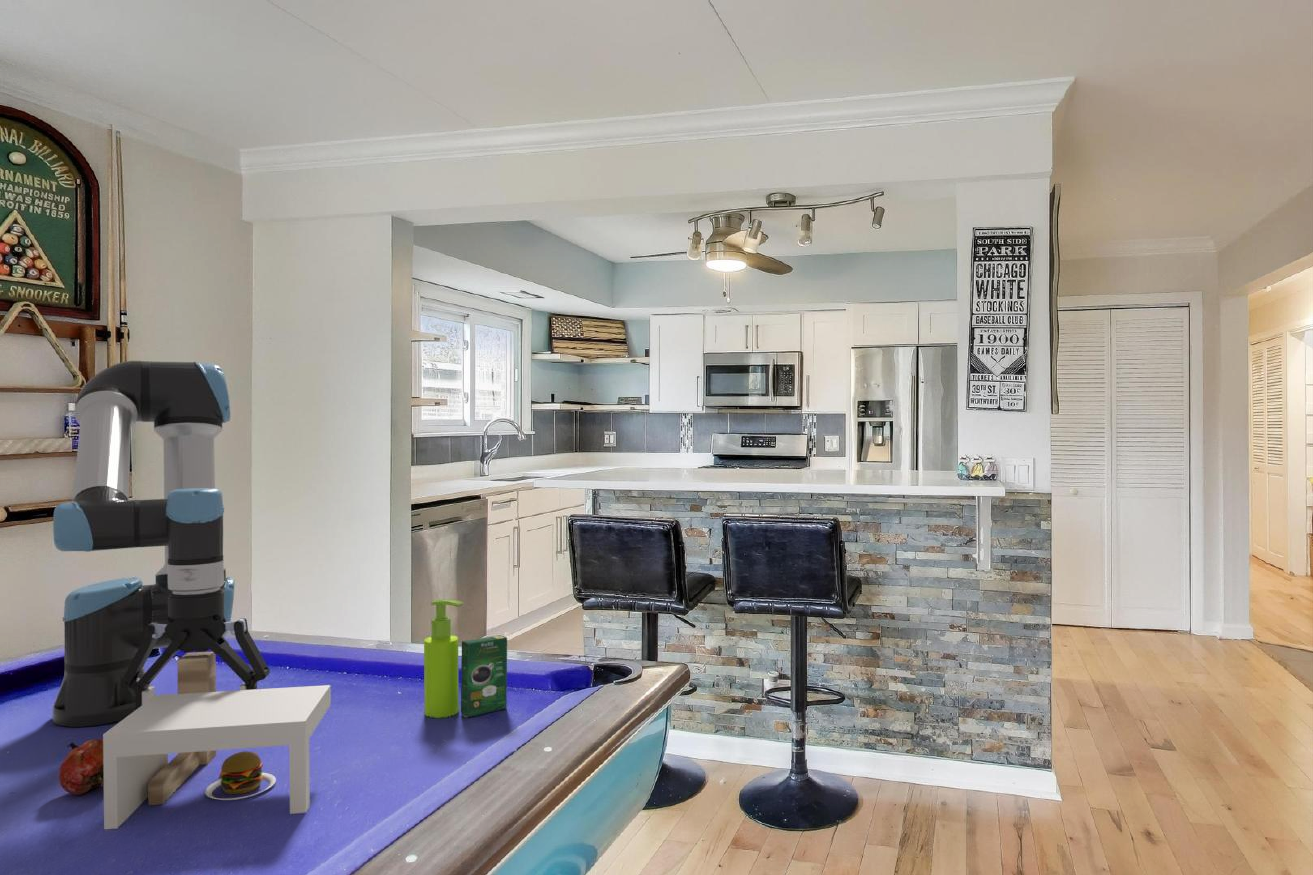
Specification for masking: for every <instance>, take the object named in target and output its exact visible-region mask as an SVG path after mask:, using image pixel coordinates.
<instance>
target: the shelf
mask: <svg viewBox="0 0 1313 875" xmlns="http://www.w3.org/2000/svg"><path fill="white" fill-rule="evenodd" d="M331 689H332V687H331V684H325V685H324V684H323V685H309V686H307V685H306V686H294V687H293V686H290V687H278V688H277V687H276V688H273V687H272V688H260V689H259V688H257V689H254V690H240V689H239V690H225V691H224V690H222V691H216V692H203V693H185V694H178V693H173V694H172V693H170V694H155V696H154V697H153V698H151V699H150V700H149V701H147V702H146V703H145V704H143V705H142V706H141V707H139V708H138V709H137V710H135V711H134V712H133V713H131V714H130V715H128V716H127V717H126V718H124V719H123V720H121V721H118V723H117V724H114V726H112V727H111V728H109V729H108V730H107V731H106V732H104V733H103V734H102V740H103V764H104V786H103V829H104V830H113V829H119V827H121V825H122V824H123V823H124V822H126V821H127V819H129V817H130V816H131V815H132V814H134V812H135V811H136V810H137V809H138V808H140V806H141V805H142V804H143V803H144V802H145V801H146V800H147V799H148V798H147V797H148V783H149V782H150V781H151V780H152V779H153V778H154V777H155V776H156V775H157V774H158V773H159V772H160V771H161V770H162V769H163V768H164V767H165V766H166V765H167V764H168V763H169V761H168V759H169V757H168V756H169V754H178V753H184V752H198V751H213V750H216V751H224V750H236V749H237V750H239V749H253V748H268V747H269V748H270V747H281V746H289V748H288V751H289V753H288V756H289V757H288V758H289V815H294V814H306V813H307V812H308V810H309V808H310V806H311V802H310V799H311V798H310V797H311V796H310V792H311V791H310V784H311V783H310V738H311V736H312V735H313V733H314V732H315V730H316V729H317V727H318V726H319V724H320V722H321V721H322V720H323V718H324V716H325V715H326V713H327V712H328V710H329V708H330V707H331V705H332V701H331V700H332V696H331V695H332V694H331V693H332V692H331V691H332V690H331ZM144 800H145V801H144ZM143 801H144V802H143Z"/></svg>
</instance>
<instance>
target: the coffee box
mask: <svg viewBox="0 0 1313 875" xmlns="http://www.w3.org/2000/svg"><path fill="white" fill-rule="evenodd" d="M460 667H461V668H460V670H461V671H460V673H461V674H460V676H461V677H460V678H461V679H460V689H461V690H460V714H461V716H463V717H464V718H471V717H477V716H478V717H479V715H484V714H487V713H493V712H499V711H501V710H507V705H508V699H507V698H508V696H507V693H508V692H507V690H508V689H507V687H508V686H507V685H508V682H507V681H508V680H507V679H508V678H507V677H508V676H507V675H508V638H507V637H506V636H504V635H494V636H486V637H480V638H474V639H468V640H462V641H461V666H460Z"/></svg>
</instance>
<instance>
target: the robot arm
mask: <svg viewBox="0 0 1313 875" xmlns="http://www.w3.org/2000/svg"><path fill="white" fill-rule="evenodd" d="M226 380H227V379H226V376H225V373H224V371H223V370H222V368H221V367H220V366H219V365H218V364H217V365H216V364H215V363H202V362H197V361H193V362H192V361H191V362H190V361H186V362H185V361H149V360H147V361H145V360H143V361H142V360H128V361H122V362H119V363H116V364H112V365H111V366H110V365H109V366H108V367H106V368H105V369H102V370H101V371H99V372H98V373H96V374H95V375H94V376H93V377H92V378H90V379H89V380H88V381H87V382H86V383H85V384H84V385H83V387H82V388H81V390H80V391H79V392H78V395H77V397H76V400H75V403H74V404H75V405H74V419H75V420H76V422H77V423H78V425H79V432H78V444H77V454H76V464H75V473H74V474H75V475H74V484H73V493H72V500H71V501H69V502H61V503H59V504H56V507H55V508H54V511H53V522H52V523H53V524H52V525H53V526H52V527H53V528H52V529H53V531H52V532H53V543H54V547H55V548H56V549H57V550H59V551H61V552H86V553H87V552H95V551H105V550H106V551H108V550H110V551H111V550H119V549H133V548H151V547H152V548H153V547H164V565H163V566H162V567H161V568H160V569H159V570H158V571H157V572H156V573H155V583H154V584H147V585H146V584H143V581H142V579H141V578H140V577H136V576H135V577H126V578H124V577H123V578H118V579H117V578H116V579H115V578H114V579H112V580H106V581H101V582H97V583H96V582H95V583H92V584H87V585H84V586H81V587H79V588H77V589H74V590H73V591H70V593H68V595H67V596H66V597H65V599H64V610H63V616H62V622H63V623H64V676H63V679H62V682H61V685H60V687H59V690H58V693H57V695H56V697H55V698H56V699H55V701H54V703H53V707H52V722H53V723H54V725H57V726H62V727H69V728H70V727H75V728H76V727H92V726H100V725H107V724H110V723H116V722H120V721H122V720H123V719H124V718H126V717H127V716H128V715H130V714H131V713H133V712H134V711H135V710H137V709H138V708H139V707H141V706H142V705H143V704H145V703H146V702H147V701H149V700H150V699H151V698H153V697H154V696H155V695H156V686H152V685H151V683H152V682H153V680H154V679H155V678H156V677H157V675H159V673H160V672H161V671H162V670H163V669H164V668H165V667H166V665H167V664H168V663H169V662H170V661H171V660H172V659H173V658H174V656H175V655H176V654H177V653H178V652H179V651H180V652H183V654H187V653H194V652H208V651H209V650H211V652H214V653H215V655H217V656H218V657H219V658H220V660H222V661H223V662H224V663H225V664H226V665H227V666H228V667H229V668H230V669H231V670H232V672H234V674H236V675H237V677H238V678H239V679H241V681H243V683H241V684H240V685H239V690H254V689H258V683H259V681H264V680H265V679H266V678H267V677H268V676H269V675H270V673H271V669H270V668H269V666H268V664H267V662H266V661H265V659H264V657H263V655H262V654H261V652H260V650H259V648H258V647H257V645H256V643H255V642H254V639H253V637H252V635H251V634H250V632H249V629H248V620H247V618H245V617H241V618H239V619H235V620H232V616H233V614H232V613H233V608H234V607H233V605H234V598H235V583H236V582H235V579H234V578H233V577H230V576H227V572H226V571H227V570H226V568H225V567H224V566H225V565H224V513H225V507H224V503H223V493H222V491H221V490H220V489H218V488H216V477H215V475H216V474H215V472H216V470H215V468H216V467H215V438H217V436H219V435H220V434H221V432H223V424H225V423H227V422H230V420H231V408H230V396H229V392H228V391H229V390H228V385H227V381H226ZM136 422H137V423H138V422H142V423H153V431H154V433H156V435H158V436H159V437H160V438H161V439H162V441H163V444H162V445H163V498H158V499H157V498H156V499H152V498H151V499H130V473H131V472H130V469H131V467H130V466H131V438H132V437H131V434H132V432H131V431H132V427H134V426H135V424H136ZM231 620H232V621H231ZM228 632H230V635H232V636H234V637H235V640H236V642H237V644H238V645H239V648H240V649H241V651H242V652H243V654H244V656H245V658H246V660H247V661H248V663H249V664H250V665H249V664H248V663H247V662H246V661H245V660H244V659H243V657H241V656H240V655H239V654H238V653H237V652H236V651H235V650H234V648H232V647H231V645H230V644H229V643H230V642H228V640H226V639H225V637H226V636H227V634H228ZM161 648H162V649H164V648H165V649H164V650H163V652H162V653H161V654H160V656H158V657H157V659H156V660H155V661H154V663H153V664H152V665H151V666H150V667H149V668H148V669H147V670H146V671H145V668H144V666H145V664H146V662H147V661H148V658H149V656H150V654H151V653H152V651H153V650H154V649H161Z"/></svg>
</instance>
